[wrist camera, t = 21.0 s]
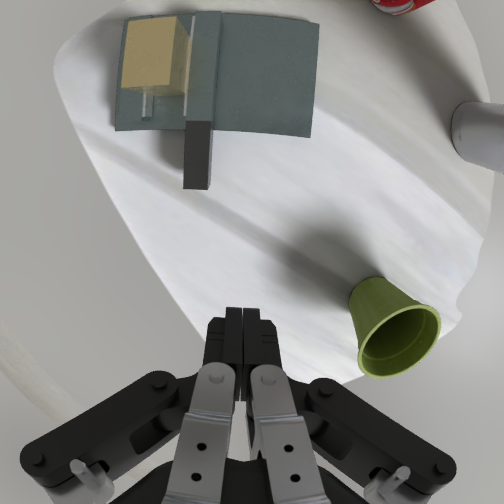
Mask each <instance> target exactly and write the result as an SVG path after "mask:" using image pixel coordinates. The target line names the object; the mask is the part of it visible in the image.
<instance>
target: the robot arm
mask: <svg viewBox="0 0 504 504" xmlns="http://www.w3.org/2000/svg"><path fill="white" fill-rule="evenodd" d="M451 133H452V140H453V144H454V146H455V148H456V151H457V152H458V154H459V155H460V156H461V157H462V158H463V159H464V160H465V161H467V162H470V163H473V164H476V165H479V166H482V167H485V168H488V169H491V170H493V171H496V172H500V173H502V174H504V104H494V103H482V102H464V103H462V104H461V105H460V106H459V107H458V108H457V109H456V111H455V112H454V115H453V118H452V124H451ZM204 352H205V353H204V359H203V365H202V367H201V369H200V370H199V372H197V373H196V374H194V375H192V376H189V377H185V378H179V379H176V378H175V376H173V375H172V374H171V373H169V372H166V371H153V372H150V373H148V374H146V375H145V376H143V377H141V378H140V379H138V380H137V381H135V382H133V383H132V384H130V385H129V386H127V387H125V388H124V389H122V390H121V391H119V392H117V393H115V394H114V395H112V396H111V397H109V398H107V399H106V400H104V401H102V402H101V403H99V404H97V405H96V406H94V407H92V408H90V409H89V410H87V411H85V412H84V413H82V414H80V415H79V416H77V417H75V418H73V419H72V420H70V421H68V422H66V423H65V424H63V425H61V426H59V427H58V428H56V429H54V430H52V431H50V432H49V433H47V434H45V435H43V436H41V437H40V438H38V439H36V440H34V441H32V442H30V443H29V444H27V445H26V446H25V447H24V448H23V449H22V451H21V453H20V463H21V466H22V468H23V469H24V470H25V472H27V473H28V474H29V475H30V476H31V477H32V478H33V479H34V480H35V481H36V482H37V483H38V484H39V485H40V486H41V487H43V488H44V489H45V490H46V492H47V493H48V495H49V496H50V498H51V499H52V501H53V502H54V504H106V502H107V501H108V500H109V499H110V498H111V497H112V496H113V494H114V483H113V481H114V480H115V479H117V478H119V477H120V476H122V475H123V474H125V473H126V472H127V471H129V470H130V469H132V468H133V467H135V466H136V465H137V464H139V463H140V462H142V461H143V460H144V459H146V458H147V457H149V456H150V455H151V454H153V453H154V452H155V451H157V450H158V449H159V448H161V447H162V446H163V445H165V444H166V443H167V442H169V441H170V440H171V439H172V438H174V437H175V436H176V435H178V434H179V433H180V435H179V439H178V443H177V448H176V452H175V456H174V460H173V461H169V462H166V463H164V464H162V465H160V466H158V467H157V468H155V469H154V470H152V471H151V472H150V473H148V474H147V475H146V476H145V477H143V478H142V479H141V480H140V481H138V482H137V483H136V484H135V485H133V486H132V487H131V488H129V489H128V490H127V491H125V492H124V493H123V494H121V495H120V496H118V497H117V498H116V499H114V500H113V501H112V502H110V503H109V504H427V502H428V501H429V499H430V498H431V496H432V495H433V494H434V493H436V492H437V491H439V490H440V489H441V488H443V487H444V486H445V485H447V484H448V483H449V482H450V481H452V479H453V478H454V477H455V475H456V469H457V468H456V463H455V461H454V460H453V458H452V457H450V456H449V455H447V454H446V453H444V452H443V451H441V450H439V449H438V448H436V447H434V446H433V445H431V444H430V443H428V442H426V441H424V440H423V439H422V438H420V437H418V436H417V435H415V434H414V433H412V432H410V431H409V430H407V429H405V428H404V427H403V426H401V425H400V424H398V423H396V422H395V421H393V420H392V419H390V418H389V417H387V416H386V415H384V414H383V413H381V412H380V411H378V410H377V409H375V408H374V407H372V406H371V405H369V404H368V403H367V402H365V401H364V400H362V399H361V398H359V397H358V396H356V395H355V394H353V393H352V392H350V391H349V390H348V389H346V388H345V387H343V386H342V385H341V384H339V383H338V382H336V381H335V380H332V379H329V378H318V379H315V380H313V381H312V382H311V383H310V384H306V383H302V382H298V381H295V380H293V379H291V378H290V377H288V376H287V375H286V373H285V372H284V371H283V369H282V363H281V357H280V350H279V344H278V337H277V330H276V327H275V325H274V324H273V323H272V321H271V320H260V310H259V309H258V308H243V315H242V308H238V307H226V316H225V318H221V317H214V318H213V319H212V320H211V321H210V322H209V324H208V329H207V336H206V344H205V351H204ZM240 385H241V401H246V415H245V418H246V426H247V434H248V442H249V451H250V461H245V462H242V461H238V460H234V459H230V458H228V453H229V443H230V434H231V425H232V416H233V414H234V410H235V401H239V396H240ZM313 450H314V451H316V452H317V453H318V454H319V455H321V456H322V457H323V458H324V459H326V460H327V461H328V462H329V463H331V464H332V465H333V466H335V467H336V468H337V469H339V470H340V471H341V472H343V473H344V474H345V475H347V476H348V477H349V478H351V479H352V480H353V481H355V482H356V483H358V484H359V485H360V486H362V487H363V488H364V498H365V499H363V498H362V497H361V496H359V495H358V494H357V493H355V492H354V491H353V490H351V489H350V488H349V487H348V486H346V485H345V484H344V483H343V482H341V481H340V480H339V479H338V478H337V477H335V476H334V475H333V474H332V473H330V472H329V471H327V470H326V469H324V468H322V467H320V466H318V465H317V463H316V459H315V455H314V452H313Z"/></svg>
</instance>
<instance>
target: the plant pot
mask: <svg viewBox="0 0 504 504" xmlns="http://www.w3.org/2000/svg"><path fill="white" fill-rule="evenodd" d="M349 309H350V312H351V316H352V320H353V323H354V327H355V331H356V335H357V339H358V349H359V352H358V366H359V368H360V370H361V371H362V372H363V373H364V374H365V375H367V376H369V377H372V378H377V379H383V378H390V377H394V376H397V375H399V374H401V373H404V372H406V371H408V370H409V369H411V368H413V367H414V366H415V365H417V364H418V363H419V362H420V361H421V360H422V359H424V357H426V355H427V354H428V353H429V352H430V351H431V349H432V348H433V347H434V345H435V343H436V341H437V339H438V337H439V334H440V330H441V318H440V315H439V313H438V312H437V311H436V310H435V309H434V308H433V307H431V306H428V305H425V304H421V303H420V302H418V301H416V300H413V299H412V298H411V297H409V296H408V295H407V294H405V293H404V292H403V291H401V290H400V289H398V288H397V287H396V286H394V285H393V284H392V283H390V282H389V281H388V280H386V279H384V278H379V277H371V278H368V279H366V280H364V281H362V282H361V283H359V284H358V285H357V286H356V287H355V288H354V290H353V291H352V294H351V297H350V299H349Z"/></svg>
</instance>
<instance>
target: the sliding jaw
mask: <svg viewBox="0 0 504 504" xmlns="http://www.w3.org/2000/svg"><path fill="white" fill-rule="evenodd" d="M222 23H223V19H222V13H221V11H196V16H193V19H192V26H191V35H190V43H189V53H188V63H187V74H186V86H185V99H184V115H183V116H186V126H185V148H184V181H183V189H197V190H208V188H209V186H210V181H211V160H212V142H213V126H214V111H215V98H216V85H217V73H218V62H219V51H220V41H221V32H222Z"/></svg>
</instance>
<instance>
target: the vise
mask: <svg viewBox="0 0 504 504" xmlns="http://www.w3.org/2000/svg"><path fill="white" fill-rule="evenodd" d="M175 16H177V18H178V19H179V21H180V22H181V24H182V26H183V27H184V29H185V30H186V32H187V34H188V35H189V37H190V35H191V26H192V19H193V16H196V14H177V15H163V16H152V15H148V16H140V17H133V18H129V19H128V20H125V23H124V29H123V36H122V43H121V51H120V60H119V70H118V81H117V95H116V114H115V131H132V130H170V129H183V130H185V126H186V116H183V115H184V99H185V95H180V96H152V95H148V94H144V93H140V92H136V91H132V90H128V89H124V88H121V82H122V70H123V60H124V52H125V43H126V36H127V29H128V23H129V21H134V20H142V19H151V18H161V17H175ZM222 19H223V23H222V32H221V41H220V51H219V62H218V73H217V85H216V98H215V111H214V126H213V130H222V131H241V132H256V133H268V134H278V135H288V136H297V137H305V138H310V135H311V126H312V115H313V105H314V94H315V82H316V69H317V55H318V40H319V24H317V23H311V22H305V21H299V20H293V19H285V18H277V17H268V16H257V15H243V14H222Z"/></svg>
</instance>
